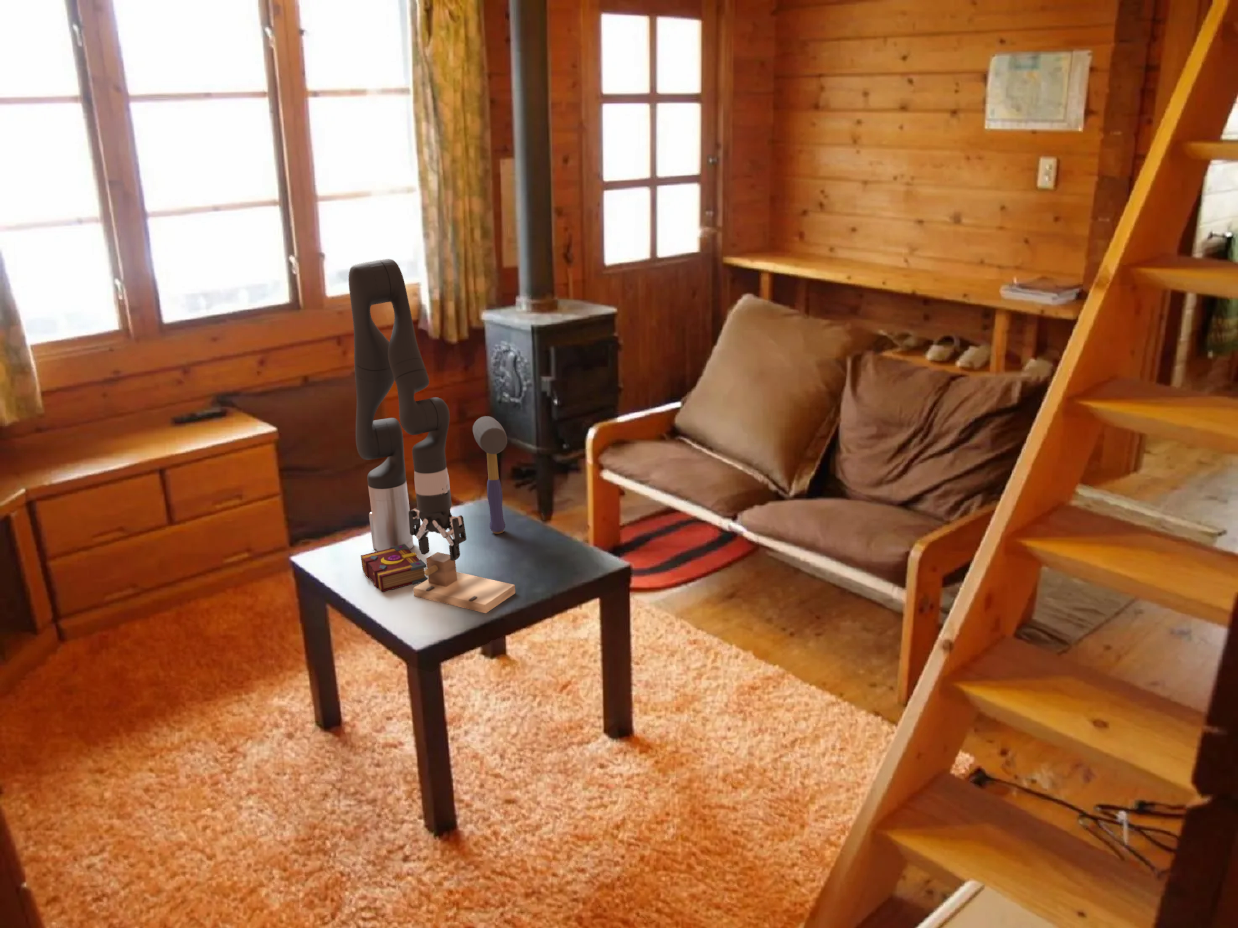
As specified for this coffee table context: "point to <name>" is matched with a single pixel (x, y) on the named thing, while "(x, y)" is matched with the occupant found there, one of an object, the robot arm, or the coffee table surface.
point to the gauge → (441, 569)
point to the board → (467, 592)
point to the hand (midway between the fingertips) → (440, 556)
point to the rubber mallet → (492, 466)
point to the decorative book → (393, 568)
